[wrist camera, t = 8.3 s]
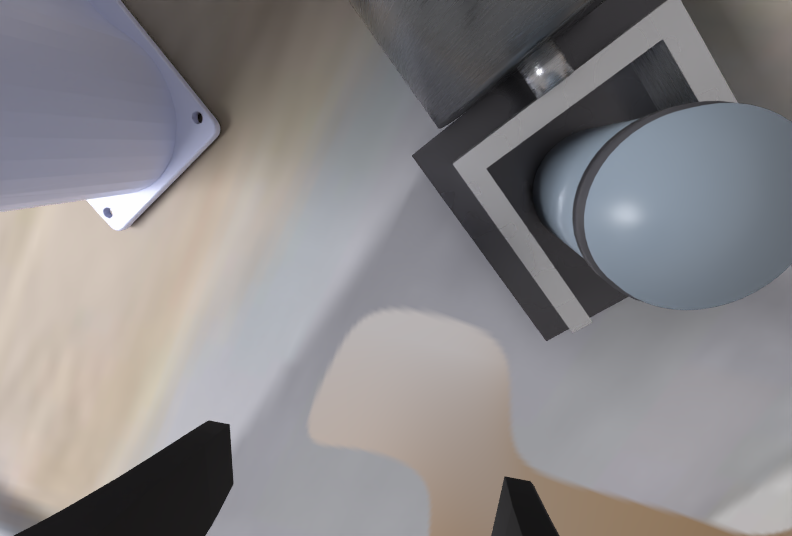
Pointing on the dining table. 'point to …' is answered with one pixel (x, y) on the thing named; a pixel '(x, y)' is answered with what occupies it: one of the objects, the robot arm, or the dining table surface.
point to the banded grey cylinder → (676, 202)
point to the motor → (535, 115)
